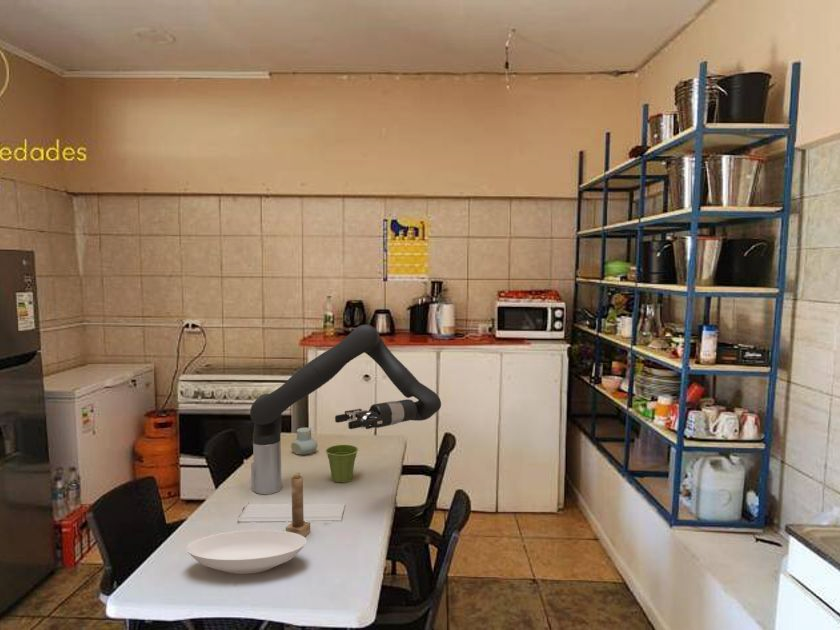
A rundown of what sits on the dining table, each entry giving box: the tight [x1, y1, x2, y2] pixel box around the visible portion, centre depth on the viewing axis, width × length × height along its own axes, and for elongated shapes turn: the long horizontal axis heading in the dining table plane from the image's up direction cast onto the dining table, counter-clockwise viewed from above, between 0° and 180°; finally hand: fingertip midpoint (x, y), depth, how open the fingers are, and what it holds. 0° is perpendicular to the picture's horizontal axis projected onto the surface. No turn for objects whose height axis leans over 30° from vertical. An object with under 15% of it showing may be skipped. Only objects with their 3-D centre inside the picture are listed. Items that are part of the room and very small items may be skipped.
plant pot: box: [325, 444, 359, 484], centre depth 195 cm, size 12×12×11 cm
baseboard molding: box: [237, 503, 346, 524], centre depth 166 cm, size 31×3×12 cm
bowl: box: [186, 529, 307, 575], centre depth 137 cm, size 30×15×6 cm, turn 94°
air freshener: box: [290, 427, 319, 456], centre depth 223 cm, size 11×8×10 cm
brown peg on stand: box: [285, 472, 311, 538], centre depth 153 cm, size 5×5×18 cm
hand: (342, 422), depth 162 cm, fingers open, 8 cm apart
